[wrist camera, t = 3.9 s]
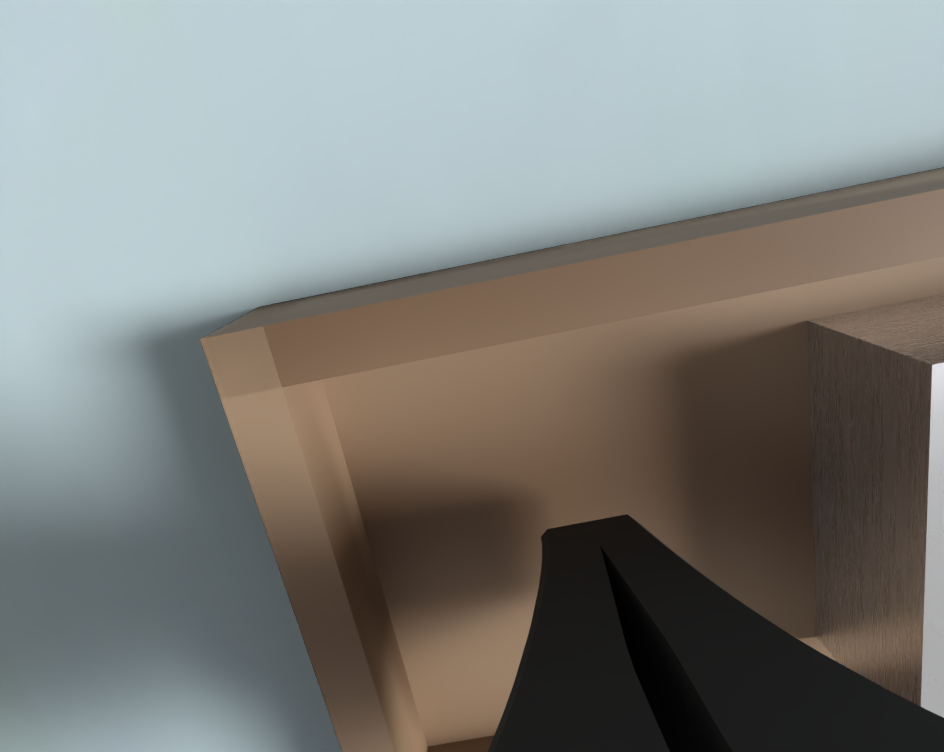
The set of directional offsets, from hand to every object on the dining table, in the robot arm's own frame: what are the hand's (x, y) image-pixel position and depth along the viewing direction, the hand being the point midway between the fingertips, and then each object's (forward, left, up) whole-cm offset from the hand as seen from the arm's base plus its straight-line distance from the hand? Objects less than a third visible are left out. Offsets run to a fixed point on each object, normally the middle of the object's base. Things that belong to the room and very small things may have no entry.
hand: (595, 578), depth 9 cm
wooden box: (0, -3, -2) cm, 3 cm away
